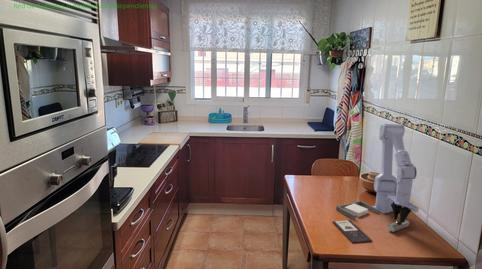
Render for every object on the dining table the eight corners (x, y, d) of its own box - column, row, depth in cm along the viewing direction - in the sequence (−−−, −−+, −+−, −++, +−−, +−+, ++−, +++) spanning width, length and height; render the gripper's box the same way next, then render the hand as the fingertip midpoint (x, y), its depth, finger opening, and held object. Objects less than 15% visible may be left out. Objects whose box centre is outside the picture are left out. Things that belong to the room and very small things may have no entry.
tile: (353, 208, 169) (354, 203, 168) (367, 213, 163) (368, 209, 162) (344, 211, 164) (344, 207, 164) (358, 217, 158) (358, 213, 157)
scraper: (402, 223, 152) (404, 208, 151) (408, 225, 150) (411, 211, 148) (387, 228, 146) (389, 214, 144) (393, 231, 143) (396, 216, 142)
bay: (360, 204, 173) (360, 200, 172) (378, 213, 163) (379, 209, 162) (336, 209, 165) (336, 206, 165) (353, 219, 155) (354, 215, 155)
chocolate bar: (352, 242, 134) (332, 221, 152) (352, 244, 135) (332, 223, 152) (372, 240, 136) (350, 220, 153) (372, 242, 136) (350, 222, 154)
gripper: (383, 187, 149) (379, 215, 152) (412, 199, 136) (408, 229, 139) (394, 185, 152) (390, 212, 155) (423, 197, 139) (418, 226, 142)
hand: (399, 220), depth 147 cm, fingers closed on scraper, 2 cm apart
